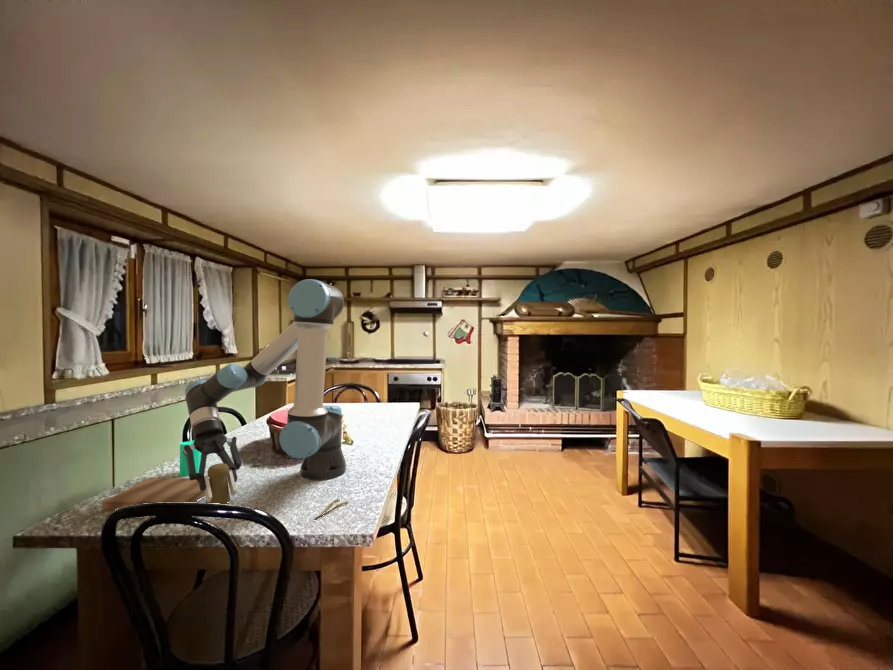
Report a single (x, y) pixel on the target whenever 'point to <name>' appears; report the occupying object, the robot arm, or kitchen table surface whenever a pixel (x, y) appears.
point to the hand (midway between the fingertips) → (222, 496)
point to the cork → (219, 483)
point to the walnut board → (156, 493)
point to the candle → (184, 461)
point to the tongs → (331, 509)
